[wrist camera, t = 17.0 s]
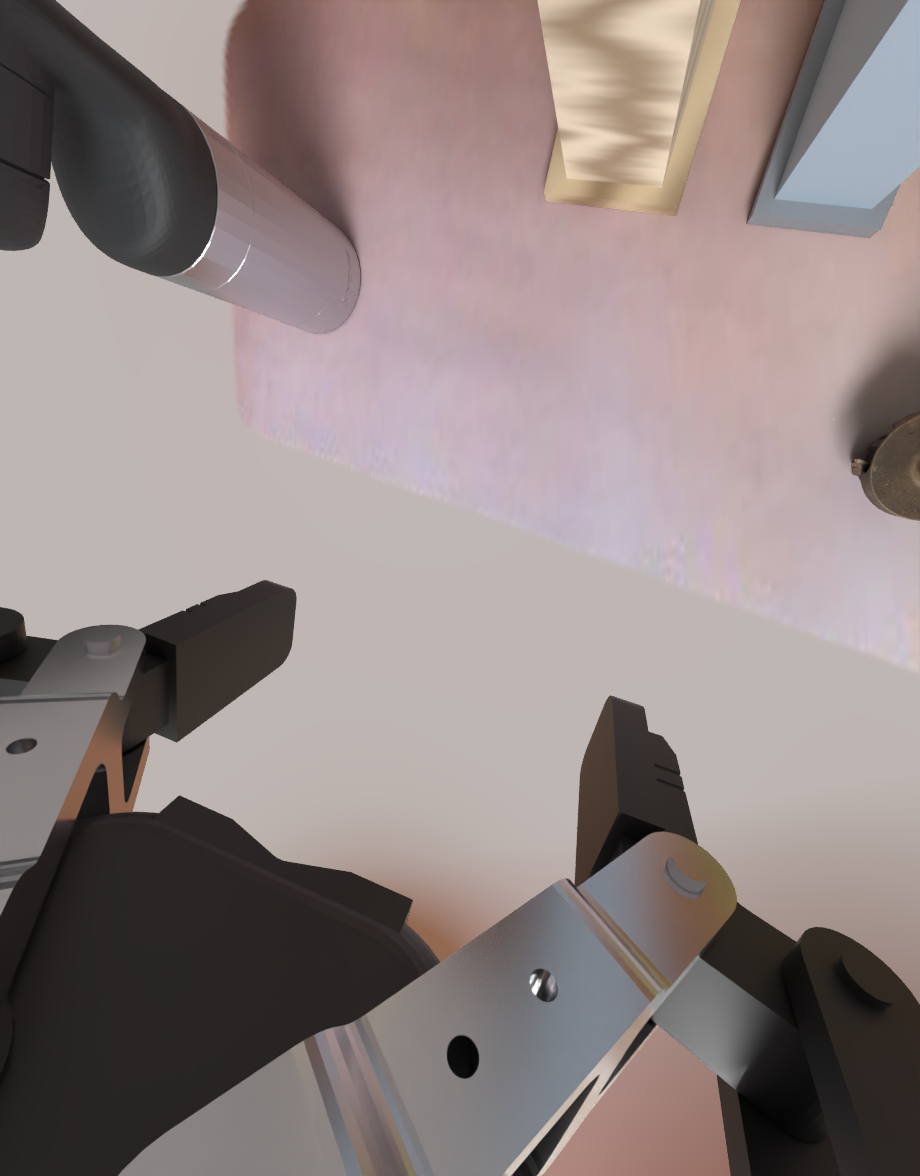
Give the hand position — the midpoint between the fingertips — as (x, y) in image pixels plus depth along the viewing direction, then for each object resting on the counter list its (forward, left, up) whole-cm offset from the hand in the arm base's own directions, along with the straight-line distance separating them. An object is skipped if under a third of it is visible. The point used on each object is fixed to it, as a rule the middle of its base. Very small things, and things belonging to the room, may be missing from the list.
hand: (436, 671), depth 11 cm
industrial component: (+22, +9, -35) cm, 43 cm away
